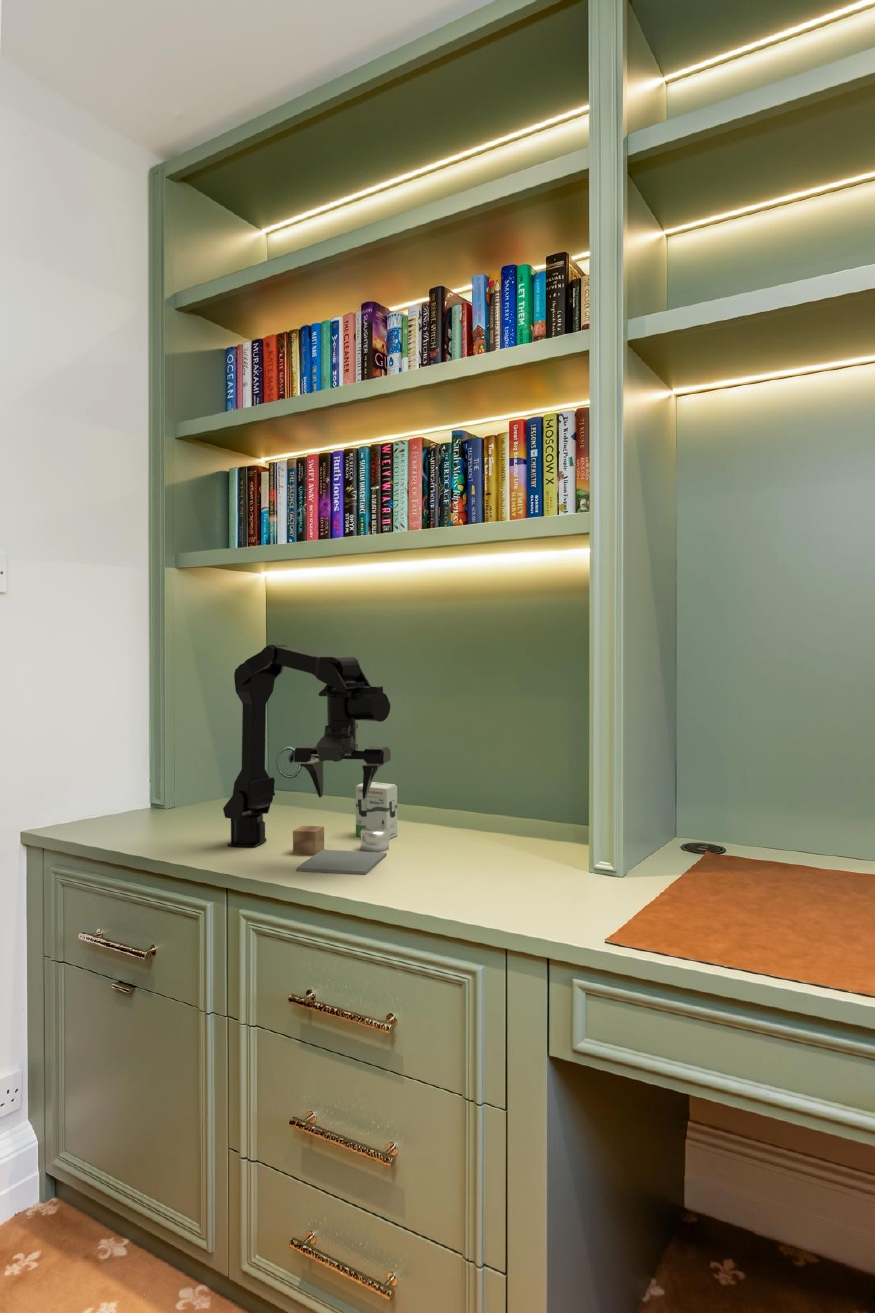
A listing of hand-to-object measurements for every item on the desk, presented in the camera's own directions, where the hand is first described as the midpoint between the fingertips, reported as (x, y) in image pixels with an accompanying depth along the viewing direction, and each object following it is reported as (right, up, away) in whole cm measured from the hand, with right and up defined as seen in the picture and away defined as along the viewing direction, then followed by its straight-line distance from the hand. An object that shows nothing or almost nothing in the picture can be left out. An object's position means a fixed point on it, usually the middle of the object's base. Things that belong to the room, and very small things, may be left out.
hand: (342, 797), depth 159 cm
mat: (0, -13, 0) cm, 13 cm away
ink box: (+5, -13, +23) cm, 27 cm away
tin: (+6, -13, +11) cm, 18 cm away
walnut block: (-8, -13, +9) cm, 18 cm away
